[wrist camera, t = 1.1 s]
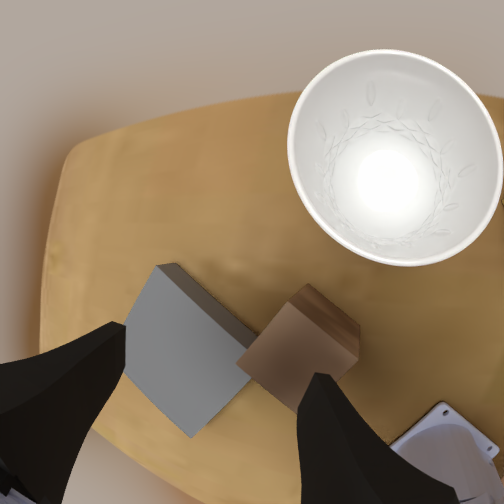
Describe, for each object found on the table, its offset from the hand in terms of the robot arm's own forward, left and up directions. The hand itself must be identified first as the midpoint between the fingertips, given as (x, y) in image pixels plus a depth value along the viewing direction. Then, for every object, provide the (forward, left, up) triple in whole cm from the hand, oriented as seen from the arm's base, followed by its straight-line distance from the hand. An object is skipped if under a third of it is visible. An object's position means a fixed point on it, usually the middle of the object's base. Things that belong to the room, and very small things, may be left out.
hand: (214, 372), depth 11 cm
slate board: (+4, +8, -11) cm, 14 cm away
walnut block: (-2, 0, -11) cm, 11 cm away
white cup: (0, -10, -11) cm, 15 cm away
